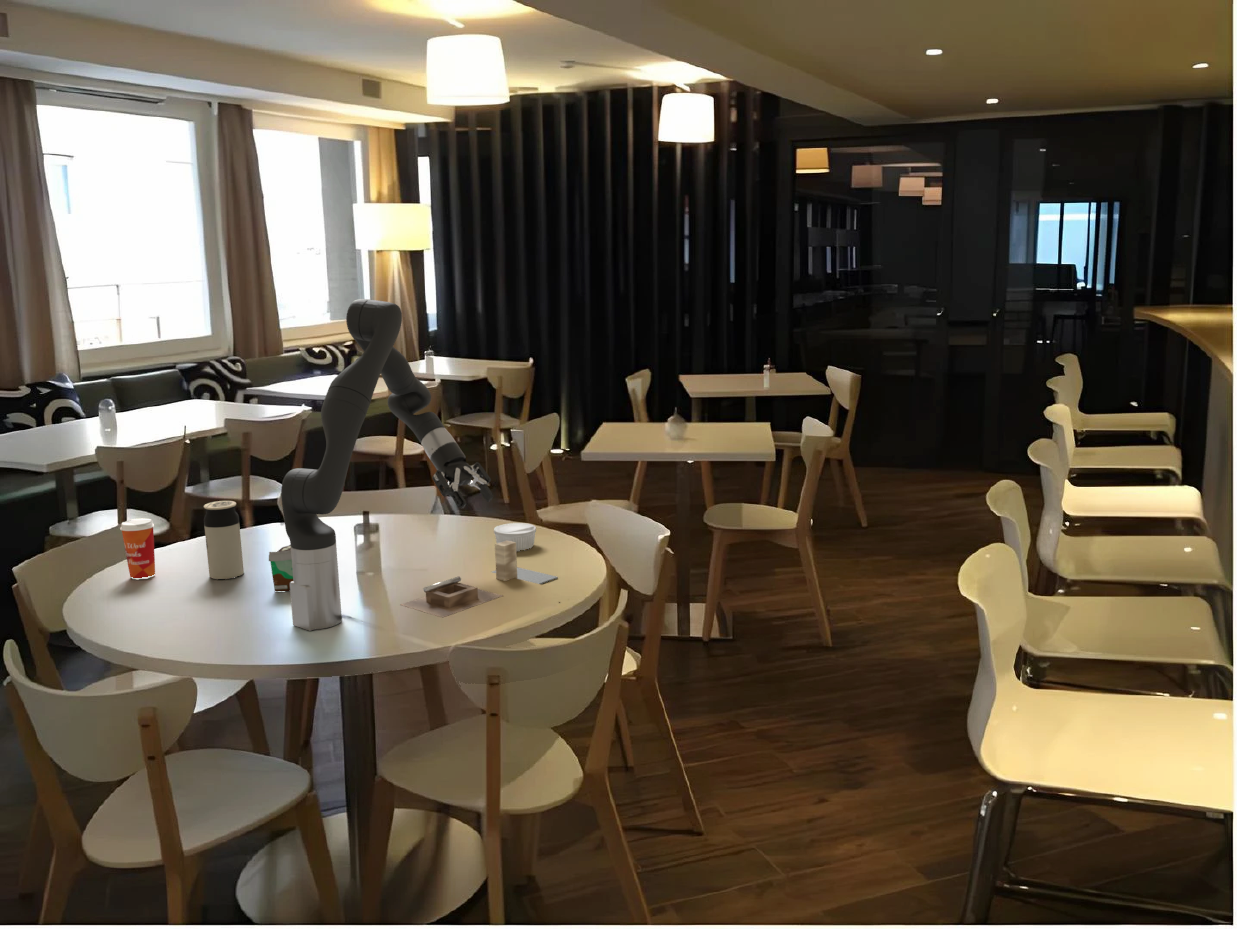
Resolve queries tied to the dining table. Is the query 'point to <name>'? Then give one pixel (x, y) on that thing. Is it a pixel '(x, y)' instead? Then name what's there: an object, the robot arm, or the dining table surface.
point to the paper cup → (139, 547)
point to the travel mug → (223, 540)
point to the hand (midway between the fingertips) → (477, 502)
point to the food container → (281, 568)
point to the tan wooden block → (506, 560)
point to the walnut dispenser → (450, 598)
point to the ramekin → (516, 534)
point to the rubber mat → (533, 576)
